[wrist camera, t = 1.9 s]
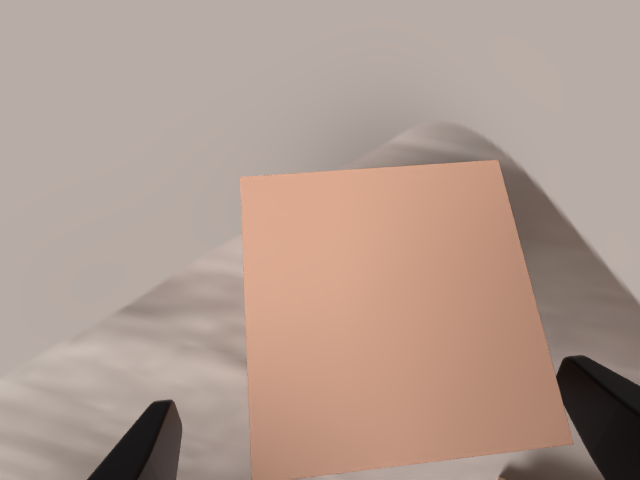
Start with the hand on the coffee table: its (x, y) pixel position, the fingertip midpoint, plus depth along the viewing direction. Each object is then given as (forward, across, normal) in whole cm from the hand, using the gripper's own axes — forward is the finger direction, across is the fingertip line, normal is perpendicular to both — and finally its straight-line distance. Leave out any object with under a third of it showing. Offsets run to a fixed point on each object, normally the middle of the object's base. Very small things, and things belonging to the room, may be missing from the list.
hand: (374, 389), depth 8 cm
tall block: (+8, 0, +6) cm, 9 cm away
